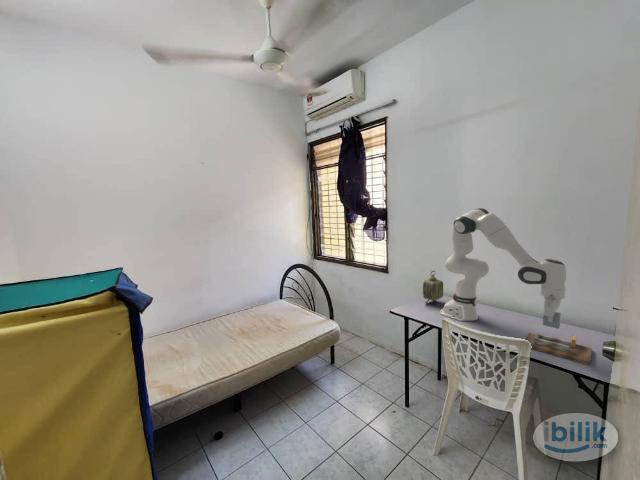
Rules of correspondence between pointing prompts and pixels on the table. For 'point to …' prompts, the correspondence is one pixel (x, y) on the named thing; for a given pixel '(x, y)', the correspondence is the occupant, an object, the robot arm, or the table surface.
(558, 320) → the module
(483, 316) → the table surface
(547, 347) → the rail base
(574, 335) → the latch gate
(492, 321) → the table surface
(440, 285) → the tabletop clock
